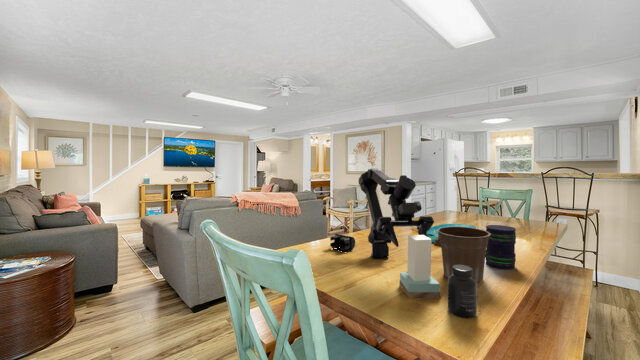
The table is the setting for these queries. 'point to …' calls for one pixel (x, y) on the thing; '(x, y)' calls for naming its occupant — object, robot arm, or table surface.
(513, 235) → the storage jar
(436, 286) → the tower top
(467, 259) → the plant pot
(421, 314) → the table surface
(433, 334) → the table surface
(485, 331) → the table surface
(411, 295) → the tower base
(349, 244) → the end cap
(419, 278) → the cream block
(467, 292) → the supplement bottle
